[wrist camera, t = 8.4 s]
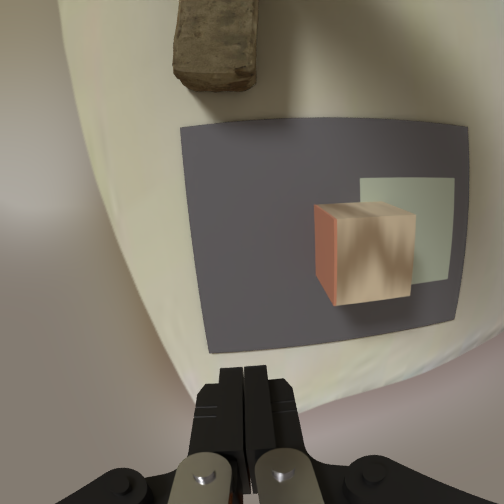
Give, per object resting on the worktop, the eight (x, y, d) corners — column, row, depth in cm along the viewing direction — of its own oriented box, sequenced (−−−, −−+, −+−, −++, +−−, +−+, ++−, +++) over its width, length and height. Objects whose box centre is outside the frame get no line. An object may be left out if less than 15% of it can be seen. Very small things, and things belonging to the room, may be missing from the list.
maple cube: (333, 219, 20) (416, 214, 20) (313, 204, 25) (381, 201, 26) (333, 305, 22) (410, 295, 22) (315, 274, 27) (380, 268, 27)
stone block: (257, -21, 20) (261, -50, 15) (255, 95, 23) (259, 81, 19) (190, -20, 20) (181, -48, 15) (182, 96, 23) (169, 83, 18)
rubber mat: (180, 128, 24) (180, 127, 23) (465, 127, 24) (467, 126, 24) (209, 351, 29) (209, 353, 29) (452, 318, 30) (454, 319, 29)
